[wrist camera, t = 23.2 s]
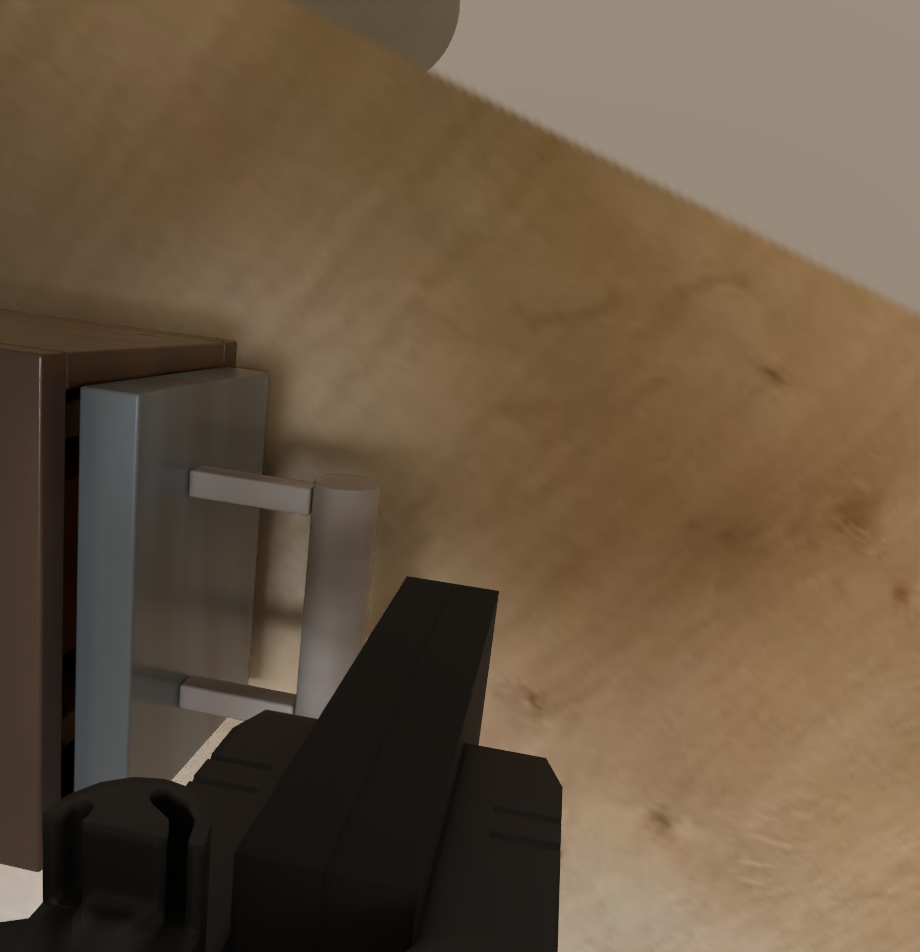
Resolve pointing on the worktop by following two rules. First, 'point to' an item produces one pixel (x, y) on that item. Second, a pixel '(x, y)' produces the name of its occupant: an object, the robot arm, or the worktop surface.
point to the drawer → (194, 570)
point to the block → (70, 550)
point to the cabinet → (51, 539)
